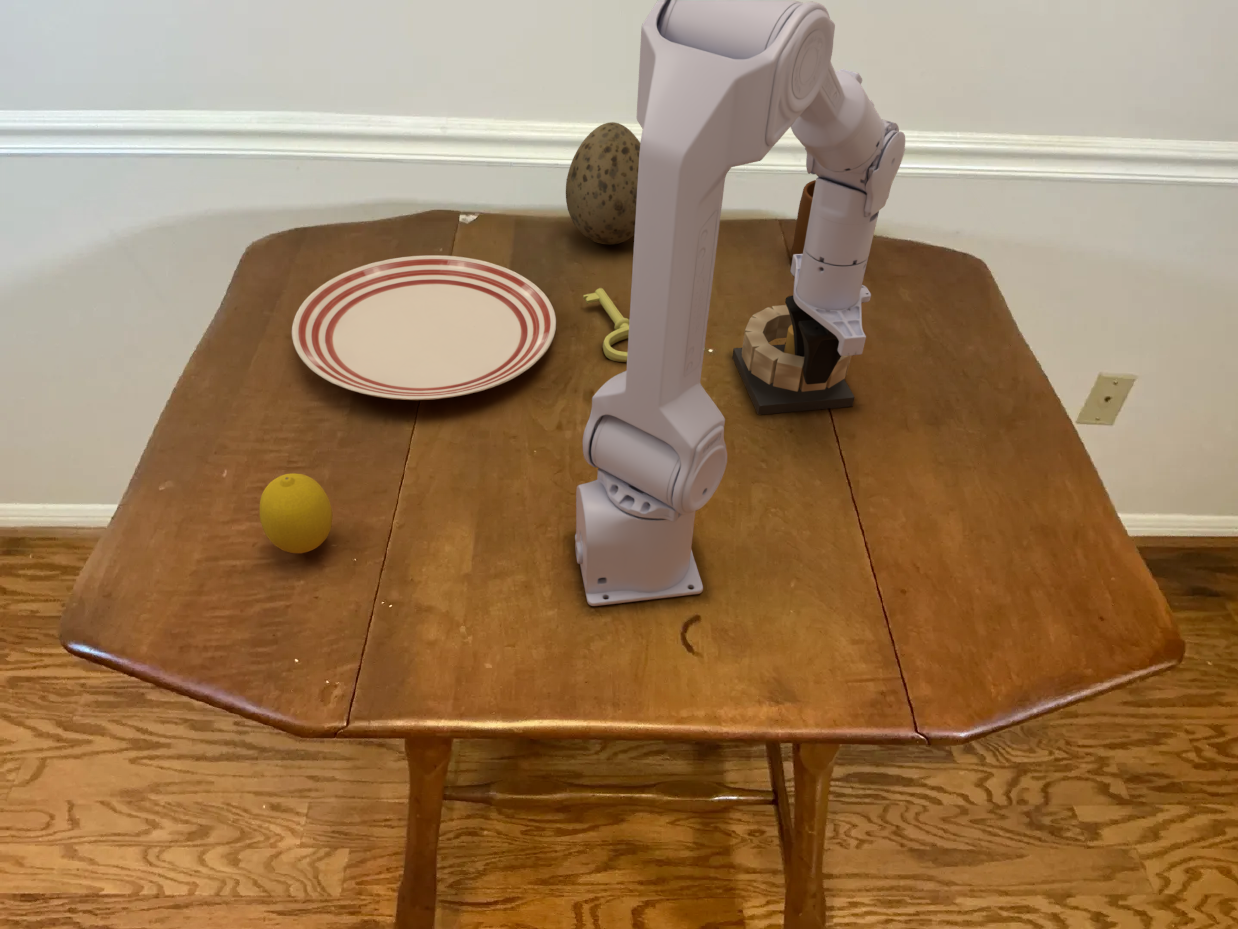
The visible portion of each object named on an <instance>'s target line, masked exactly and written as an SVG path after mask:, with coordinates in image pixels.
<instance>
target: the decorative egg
mask: <svg viewBox="0 0 1238 929" xmlns="http://www.w3.org/2000/svg"><path fill="white" fill-rule="evenodd" d="M640 143H641V141H640V140H639V139H638V138H637V136H636V135H635V134H634V133H633V132H632V131H631V130H630V129H629V128H628V127H626V126H625V125H623V124H621V123H619V122H615V121H611V122H605V123H603V124H600V125H599V126H597V127H596V128H594V130H592V131H591V132H589V134H588V135H586V137H585V138H584V140H582V142H581V143H580V145H579V146H578V148H577V150H576V152H575V154H574V156H573V158H572V161H571V163H570V166H569V169H568V172H567V177H566V181H565V202H566V207H567V211H568V214H569V217H570V218H571V222H573V224H574V226H575V227H576V229H577V230H578V231H579V232H580V233H581V234H582V235H583V236H585V237H586V238H587V239H588V240H591V241H592V242H594V243H597V244H603V245H617V244H622V243H624V242H626V241H628V240H630V239H631V238H632V237H634V236H635V219H636V202H637V185H638V168H639V153H640Z"/></svg>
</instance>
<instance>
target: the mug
mask: <svg viewBox="0 0 1238 929" xmlns="http://www.w3.org/2000/svg"><path fill="white" fill-rule="evenodd" d="M815 182H816V179H814V180H811V181H809V182H808V183H806V184H805V185H804V187H803V188H802V193H801V197H800V200H799V205H798V206H799V207H798V211H797V217H796V222H795V229H794V235H793V242H792V247H791V260H792V259H793V255H794V254H803V250H804V244H805V239H806V233H807V227H808V222H809V216H810V210H811V205H812V199H813V194H814V188H815Z"/></svg>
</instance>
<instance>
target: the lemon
mask: <svg viewBox="0 0 1238 929" xmlns="http://www.w3.org/2000/svg"><path fill="white" fill-rule="evenodd" d="M262 491H263V492H262V494H261V496H260V499H259V520H260V525H261V527H262V530H263V532H264V534H265V536H266V538H268V541H270V542H271V543H272V545H274V546H275V547H276V548H278V549H280V550H281V551H284V552H287V553H291V554H304V553H308V552H311V551H314V550H315V549H317V548H318V547H319V546H321V545H322V544H323V543H324V542H325V541H326V539H327V538H328V537H329V534H330V532H331V529H332V525H333V509H332V506H331V501H330V499H329V496H328V495H327V493H326V492H325V490H324V488H323V487H322V486H321V484H320V483H319V482H318V481H316V480H315V479H314V478H313V477H310V476H308V475H306V474H303V473H295V472H293V473H292V472H291V473H285V474H281V475H279V476H278V477H276V478H274V479H272V480H271V481H270V482H269V483H268V484H267V486H266V487H265V488H264V489H263V490H262Z"/></svg>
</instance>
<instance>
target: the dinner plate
mask: <svg viewBox="0 0 1238 929" xmlns="http://www.w3.org/2000/svg"><path fill="white" fill-rule="evenodd" d="M556 329H557V316H556V312H555V309H554V307H553V305H552V302H551V300H550V299H549V298H548V296H547V295H546V294H545V293H544V291H542V290H541V288H540V287H538V286H537V285H536V284H535V283H533V281H531V280H530V279H528V278H526V277H525V276H523V275H522V274H519V273H518V272H515V271H514V270H511V269H509V268H506V267H505V266H501V265H498V264H496V263H494V262H493V263H492V262H489V261H485V260H481V259H477V258H472V257H471V258H470V257H463V256H454V255H428V254H427V255H412V256H402V257H401V256H400V257H396V258H395V257H394V258H389V259H384V260H380V261H375V262H372V263H371V262H370V263H367V264H364V265H361V266H358V267H356V268H353V269H351V270H348V271H345V272H343V273H341V274H339V275H337V276H335V277H333V278H331V279H329V280H328V281H326V282H325V283H323V284H321V285H320V286H319V287H318V288H316V289H315V290H313V291H312V292H311V293H310V294H309V295H308V296H307V297H306V298H305V300H304V301H303V302H302V303H301V304H300V306H299V308H298V309H297V311H296V313H295V315H294V318H293V321H292V326H291V339H292V343H293V347H294V349H295V352H296V353H297V355H298V357H299V358H300V360H301V361H302V362H303V364H305V366H306V367H308V369H310V370H311V371H312V372H313V373H315V374H316V375H317V376H319V377H320V378H322V379H324V380H326V381H327V382H330V383H331V384H333V385H335V386H338V387H340V388H343V389H345V390H348V391H351V392H355V393H359V394H362V395H365V396H366V395H367V396H371V397H376V398H381V399H382V398H383V399H389V400H390V399H391V400H402V401H427V400H441V399H448V398H454V397H460V396H465V395H470V394H473V393H479V392H482V391H485V390H488V389H492V388H495V387H497V386H500V385H503V384H505V383H507V382H509V381H511V380H513V379H515V378H517V377H518V376H520V375H521V374H523V373H524V372H526V371H528V370H529V369H530V368H532V367H533V366H534V365H535V364H536V363H537V362H539V360H540V359H541V358H542V357H543V356H544V355H545V354H546V352H547V351H548V349H549V348H550V346H551V345H552V342H553V341H554V337H555V334H556Z"/></svg>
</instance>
